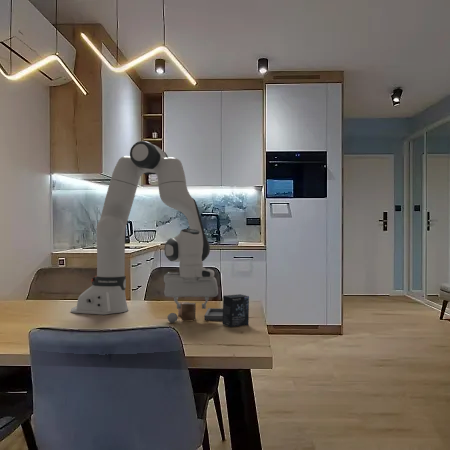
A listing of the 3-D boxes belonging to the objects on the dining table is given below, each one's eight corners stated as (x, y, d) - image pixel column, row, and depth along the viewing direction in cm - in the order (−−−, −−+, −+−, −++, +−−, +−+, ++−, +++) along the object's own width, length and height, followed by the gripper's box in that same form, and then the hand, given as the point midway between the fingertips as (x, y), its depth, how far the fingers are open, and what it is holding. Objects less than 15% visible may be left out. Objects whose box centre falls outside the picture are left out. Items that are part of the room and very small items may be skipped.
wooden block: (177, 316, 201) (177, 303, 201) (179, 314, 206) (179, 301, 205) (188, 316, 201) (188, 303, 201) (190, 314, 205) (190, 301, 205)
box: (231, 327, 181) (231, 297, 181) (222, 324, 186) (222, 295, 186) (249, 325, 186) (249, 295, 186) (240, 322, 190) (240, 293, 190)
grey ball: (166, 323, 187) (166, 313, 187) (168, 321, 190) (168, 311, 190) (176, 323, 186) (176, 313, 186) (178, 321, 190) (178, 312, 190)
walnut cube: (181, 320, 193) (182, 304, 193) (183, 318, 197) (183, 302, 197) (193, 320, 193) (194, 304, 193) (195, 318, 197) (195, 302, 197)
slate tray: (204, 320, 194) (204, 315, 194) (208, 312, 210) (208, 308, 210) (241, 321, 193) (241, 316, 193) (243, 313, 209) (243, 308, 209)
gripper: (162, 272, 193) (162, 310, 193) (217, 272, 192) (217, 309, 192) (165, 271, 199) (165, 307, 199) (218, 271, 198) (218, 307, 199)
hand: (191, 308), depth 196 cm, fingers open, 8 cm apart
